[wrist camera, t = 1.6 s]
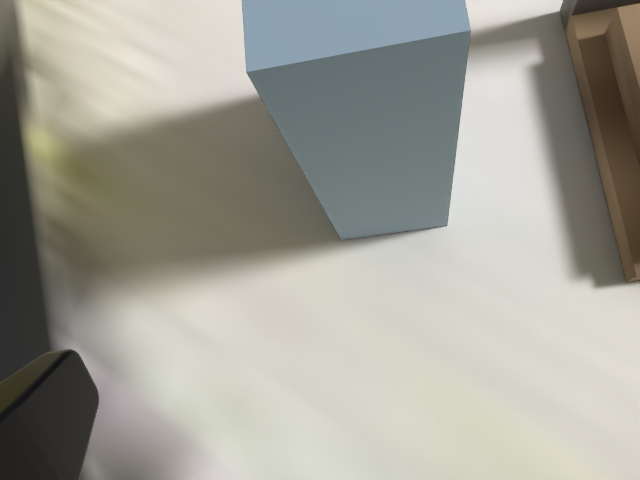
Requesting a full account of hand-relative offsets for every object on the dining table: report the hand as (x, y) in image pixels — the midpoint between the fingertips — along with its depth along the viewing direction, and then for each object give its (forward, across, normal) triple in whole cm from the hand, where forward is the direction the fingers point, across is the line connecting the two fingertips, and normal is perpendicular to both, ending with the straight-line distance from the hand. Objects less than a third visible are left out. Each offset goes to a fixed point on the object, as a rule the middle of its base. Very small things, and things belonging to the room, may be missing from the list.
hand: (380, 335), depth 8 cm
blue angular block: (+15, 0, +3) cm, 15 cm away
